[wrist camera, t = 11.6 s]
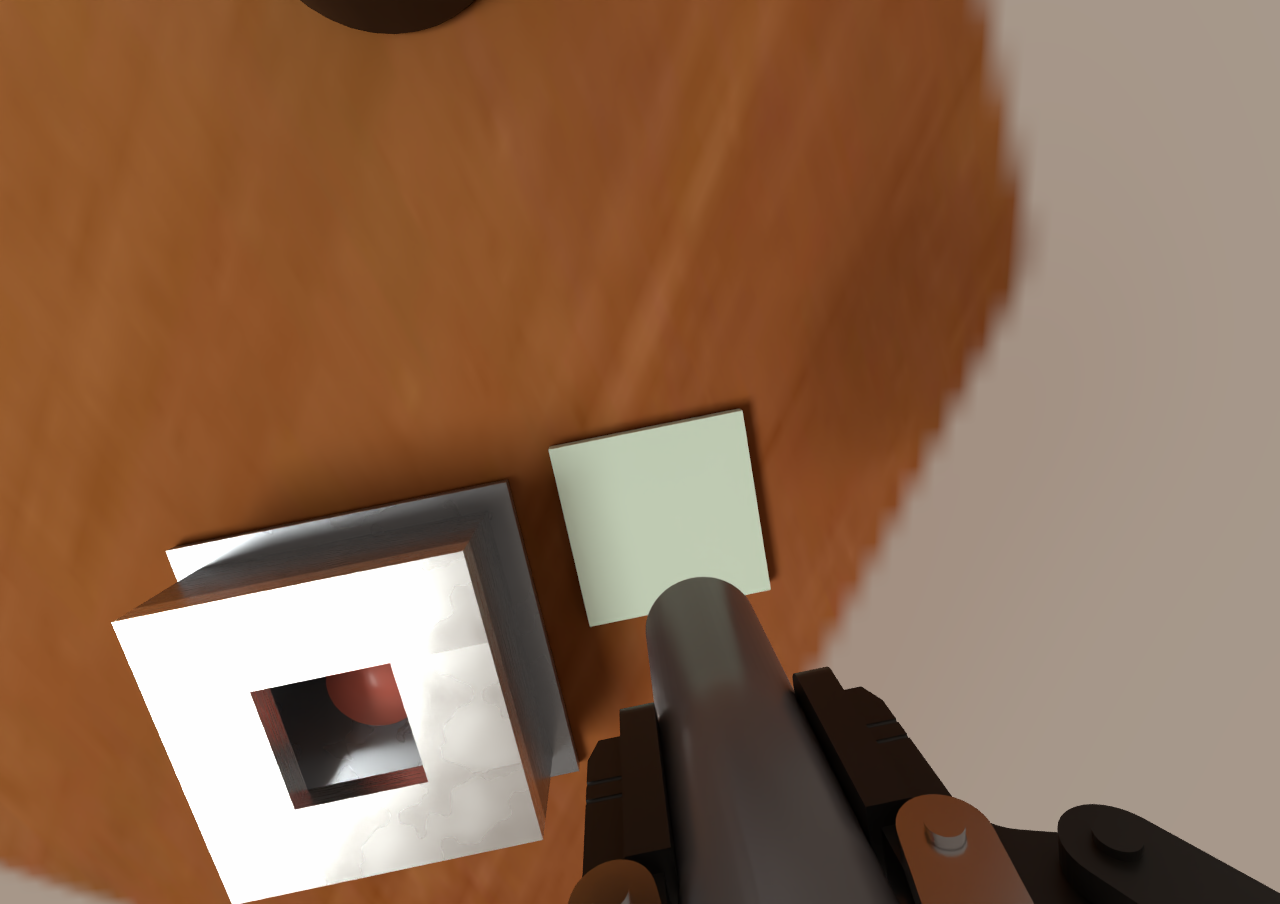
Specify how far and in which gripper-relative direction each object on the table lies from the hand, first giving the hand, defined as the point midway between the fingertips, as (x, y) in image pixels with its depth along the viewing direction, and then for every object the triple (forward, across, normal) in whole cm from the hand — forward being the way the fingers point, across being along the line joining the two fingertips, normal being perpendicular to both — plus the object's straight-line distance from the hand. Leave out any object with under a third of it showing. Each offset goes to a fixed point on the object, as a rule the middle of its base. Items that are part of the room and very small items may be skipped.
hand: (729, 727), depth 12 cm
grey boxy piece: (+14, +13, +4) cm, 20 cm away
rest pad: (+14, 0, 0) cm, 14 cm away
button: (+13, +13, +4) cm, 19 cm away
